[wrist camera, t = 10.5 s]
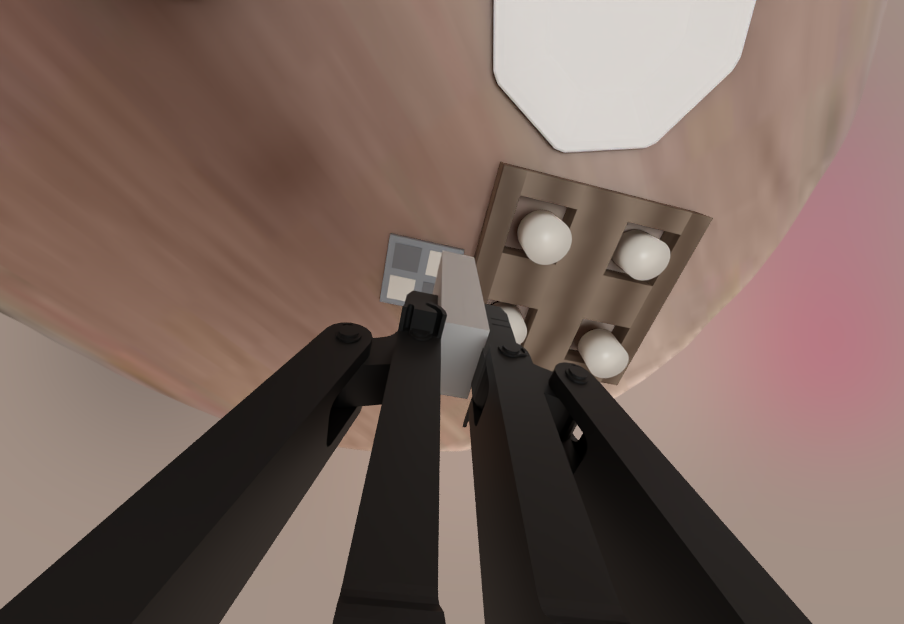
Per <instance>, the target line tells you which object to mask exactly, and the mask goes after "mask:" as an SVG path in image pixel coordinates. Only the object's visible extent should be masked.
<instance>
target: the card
mask: <svg viewBox="0 0 904 624" xmlns="http://www.w3.org/2000/svg"><path fill="white" fill-rule="evenodd" d="M442 250H443V251H448V252H452V253H457V254H462V255H463V254H464V249H460V248H455V247H451V246H446V245H442V244H437V243H433V242H428V241H424V240H419V239H415V238H410V237H406V236H401V235H397V234H392V233H391V234H390V238H389V245H388V251H387V257H386V264H385V270H384V277H383V283H382V290H381V296H380V302H385V303H390V304H395V305H400V306H403V305H404V304H405V300H406V295H407V294H409V293H410V292H411V291H413V290H414V291H419V292H424V293H429V294H433V290H434V285H435V281H436V277H437V272H438V268H439V264H440V259H441V255H442Z"/></svg>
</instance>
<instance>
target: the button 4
mask: <svg viewBox="0 0 904 624" xmlns="http://www.w3.org/2000/svg"><path fill="white" fill-rule="evenodd" d="M612 259H613V261H614V262H615V263H616V264H617V265H618V266H619V267H620V268H621V269H623V270H624V271H625V272H626V273H627V274H629V275H630V276H631V277H632V278H634V279H636V280H649V279H652V278H654V277H656V276H658V275H659V274H660V273H662V272H663V271H664V269H665V268H666V267H667V265H668V263H669V260H670V249H669V247H668V246H667V245H666V243H664V242H663V241H661V240H659V239H657V238H655V237H654V236H652V235H650V234H648V233H646V232H644V231H642V230H630V231H627V232H625V233H624V234H622V236H621V238H620V240H619V242H618V245H617V247H616V249H615V251H614V253H613V255H612Z"/></svg>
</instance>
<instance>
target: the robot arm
mask: <svg viewBox="0 0 904 624" xmlns="http://www.w3.org/2000/svg"><path fill="white" fill-rule="evenodd" d="M471 386H472V399H471V402H470V405H469V408H468V410H467V413H466V416H465V419H464V423H463V427H466V426H467V423H468V421H469V424H470V437H471V450H472V461H473V462H472V463H473V475H474V489H475V502H476V515H477V527H478V540H479V553H480V566H481V578H482V592H483V605H484V618H485V624H812V623H811V622H810V621H809V619H808V618H807V617H806V616H805V615H804V614H803V613H802V611H801V610H800V609H799V608H798V607H797V606H796V605H795V603H794V602H793V601H792V600H791V599H790V598H789V597H788V595H786V593H785V592H784V591H783V590H782V589H781V588H780V586H779V585H778V584H777V583H776V582H775V581H774V580H773V578H772V577H771V576H770V575H769V574H768V573H767V572H766V571H765V569H764V568H762V566H761V565H760V564H759V563H758V561H757V560H756V559H755V558H754V557H753V556H752V555H751V554H750V552H749V551H748V550H747V549H746V548H745V547H744V546H743V544H742V543H741V542H740V541H739V540H738V539H737V538H736V537H735V535H734V534H733V533H732V532H731V531H730V530H729V529H728V527H727V526H726V525H725V524H724V523H723V522H722V521H721V520H720V519H719V517H718V516H717V515H716V514H715V513H714V512H713V510H712V509H711V508H710V507H709V506H708V505H707V504H706V503H705V501H703V499H702V498H701V497H700V496H699V495H698V494H697V492H696V491H695V490H694V489H693V488H692V487H691V486H690V484H689V483H688V482H687V481H686V480H685V479H684V478H683V477H682V475H681V474H680V473H679V472H678V471H677V470H676V469H675V467H674V466H673V465H672V464H671V463H670V462H669V461H668V460H667V458H666V457H665V456H664V455H663V454H662V453H661V451H660V450H659V449H658V448H657V447H656V446H655V445H654V444H653V442H652V441H651V440H650V439H649V438H648V437H647V436H646V435H645V434H644V432H643V431H642V430H641V429H640V428H639V427H638V425H637V424H636V423H635V422H634V421H633V420H632V419H631V417H630V416H629V415H628V414H627V413H626V412H625V411H624V410H623V408H622V407H621V406H620V405H619V404H618V403H617V402H616V400H615V399H614V398H613V397H612V396H611V395H610V394H609V393H608V391H607V390H606V389H605V388H604V387H603V386H602V385H601V383H600V382H599V381H598V380H597V379H596V378H595V377H594V376H593V375H592V374H591V373H590V372H589V371H587V370H586V369H584V368H583V367H581V366H579V365H576V364H573V363H567V362H563V363H558V364H557V365H556V366H555V368H554V370H553V371H550V370H547V369H545V368H542V367H540V366H537V365H535V364H533V362H532V359H531V356H530V354H529V353H528V351H527V350H526V349H525V348H524V347H523V346H521V345H520V344H518V343H516V340H515V337H514V334H513V331H512V328H511V325H510V323H509V318H508V315H507V314H506V313H505V312H504V310H503V309H502V308H501V307H497V306H492V305H488V304H484V301H483V296H482V292H481V287H480V282H479V278H478V273H477V268H476V264H475V259H474V257H471V256H466V255H462V254H457V253H452V252H448V251H443V250H442V255H441V259H440V264H439V268H438V272H437V277H436V281H435V285H434V290H433V294H429V293H424V292H419V291H414V290H413V291H411V292H410V293H409V294H407V295H406V300H405V304H404V305H403V308H402V313H401V318H400V323H399V329H398V331H397V332H396V333H395V334H393V335H391V336H387V337H381V338H373V337H372V334H371V332H370V331H369V330H368V329H367V328H365V327H363V326H361V325H358V324H354V323H338V324H333V325H331V326H329V327H328V328H326V329H325V330H324V331H323V332H321V333H320V334H319V335H318V336H317V337H316V338H314V339H313V340H312V341H311V342H310V343H309V344H308V345H306V346H305V347H304V348H303V349H302V350H301V351H299V352H298V353H297V354H296V355H295V356H294V357H292V358H291V359H290V360H289V361H288V362H287V363H286V364H284V365H283V366H282V367H281V368H280V369H279V370H277V371H276V372H275V373H274V374H273V375H272V376H270V377H269V378H268V379H267V380H266V381H265V382H263V383H262V384H261V385H260V386H259V387H258V388H257V389H255V390H254V391H253V392H252V393H251V394H250V395H248V396H247V397H246V398H245V399H244V400H243V401H241V402H240V403H239V404H238V405H237V406H236V407H235V408H233V409H232V410H231V411H230V412H229V413H228V414H226V415H225V416H224V417H223V418H222V419H221V420H219V421H218V422H217V423H216V424H215V425H214V426H212V427H211V428H210V429H209V430H208V431H207V432H206V433H205V434H203V435H202V436H201V437H200V438H199V439H197V440H196V441H195V442H194V443H193V444H192V445H190V446H189V447H188V448H187V449H186V450H185V451H184V452H183V453H181V454H180V455H179V456H178V457H177V458H175V459H174V460H173V461H172V462H171V463H170V464H168V466H166V467H165V468H164V469H163V470H162V471H160V472H159V473H158V474H157V475H156V476H155V477H153V478H152V479H151V480H150V481H149V482H148V483H146V484H145V485H144V486H143V487H142V488H141V489H140V490H138V491H137V492H136V493H135V494H134V495H133V496H131V497H130V498H129V499H128V500H127V501H126V502H124V503H123V504H122V505H121V506H120V507H119V508H117V509H116V510H115V511H114V512H113V513H112V514H111V515H109V516H108V517H107V518H106V519H105V520H104V521H103V522H101V523H100V524H99V525H98V526H97V527H96V528H94V529H93V530H92V531H91V532H90V533H89V534H87V535H86V536H85V537H84V538H83V539H82V540H81V541H79V542H78V543H77V544H76V545H75V546H74V547H72V548H71V549H70V550H69V551H68V552H67V553H65V554H64V555H63V556H62V557H61V558H60V559H58V560H57V561H56V562H55V563H54V564H53V565H51V566H50V567H49V568H48V569H47V570H46V571H45V572H43V573H42V574H41V575H40V576H39V577H37V578H36V579H35V580H34V581H33V582H32V583H31V584H29V585H28V586H27V587H26V588H25V589H24V590H22V591H21V592H20V593H19V594H18V595H17V596H16V597H14V598H13V599H12V600H11V601H10V602H9V603H7V604H6V605H5V606H4V607H3V608H2V609H0V624H219V623H220V622H221V620H222V619H223V617H224V616H225V614H226V613H227V611H228V610H229V608H230V607H231V605H232V604H233V602H234V600H235V599H236V598H237V596H238V595H239V593H240V592H241V590H242V589H243V587H244V586H245V584H246V583H247V581H248V579H249V578H250V577H251V575H252V574H253V572H254V571H255V569H256V567H257V566H258V564H259V563H260V562H261V560H262V559H263V557H264V556H265V554H266V553H267V551H268V550H269V548H270V547H271V545H272V544H273V542H274V541H275V539H276V537H277V536H278V535H279V533H280V532H281V530H282V529H283V527H284V526H285V524H286V523H287V521H288V519H289V518H290V517H291V515H292V514H293V512H294V511H295V509H296V508H297V506H298V505H299V503H300V502H301V500H302V499H303V497H304V495H305V494H306V493H307V491H308V490H309V488H310V487H311V485H312V484H313V482H314V480H315V479H316V478H317V476H318V475H319V473H320V472H321V470H322V468H323V467H324V466H325V464H326V462H327V461H328V459H329V458H330V456H331V455H332V453H333V452H334V451H335V449H336V448H337V446H338V445H339V443H340V442H341V440H342V439H343V437H344V436H345V434H346V433H347V431H348V430H349V428H350V427H351V425H352V424H353V422H354V421H355V419H356V418H357V416H358V415H359V413H360V411H361V408H362V406H369V405H380V404H382V406H381V411H380V415H379V420H378V424H377V429H376V434H375V438H374V443H373V447H372V452H371V456H370V461H369V465H368V470H367V474H366V479H365V484H364V488H363V493H362V497H361V502H360V506H359V511H358V515H357V520H356V524H355V529H354V534H353V539H352V543H351V548H350V552H349V556H348V561H347V565H346V570H345V575H344V579H343V584H342V588H341V592H340V596H339V599H338V603H337V607H336V612H335V615H334V620H333V624H446V623H445V617H444V612H443V610H442V608H441V607H440V605H439V600H438V535H439V532H438V531H439V461H440V394H441V395H447V396H453V397H459V398H465V399H467V398H468V395H469V392H470V389H471ZM577 425H578V426H579V428H580V429H581V431H582V432H583V434H582V436H581V438H580V439H579V440H577V439H576V438H575V436H574V435H573V431H574V429H575V427H576V426H577Z"/></svg>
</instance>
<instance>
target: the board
mask: <svg viewBox="0 0 904 624" xmlns="http://www.w3.org/2000/svg"><path fill="white" fill-rule="evenodd" d="M520 195H521V196H525V197H529V198H533V199H537V200H541V201H545V202H549V203H553V204H557V205H561V206H565V207H567V210H566V213H565V215H564V218H563V222H564V223H565V224H566V225H567V226H568V227H569V229H570V231H571V235H572V243H571V246H570V249H569V251H568V252H567V254H566V255H565V256H564V257H563V258H562V259H561V260H559V261H558V262H556V263H553V264H549V265H541V264H537V263H535V262H533V261H532V260H531V259H530V258H529V257H528V256H527V254H526V253H525V251H524V250H519V249H515V248H511V247H506V246H505V243H506V239H507V236H508V233H509V230H510V227H511V223H512V220H513V217H514V214H515V211H516V207H517V204H518V201H519V198H520ZM712 219H713V218H711V217H709V216H706V215H703V214H700V213H697V212H694V211H690V210H686V209H682V208H678V207H675V206H671V205H667V204H663V203H659V202H655V201H651V200H647V199H643V198H639V197H636V196H632V195H628V194H624V193H620V192H616V191H612V190H608V189H604V188H600V187H596V186H593V185H589V184H585V183H581V182H577V181H573V180H569V179H565V178H561V177H557V176H553V175H550V174H546V173H542V172H538V171H534V170H530V169H526V168H522V167H518V166H514V165H511V164H507V163H503V162H501V163H500V166H499V170H498V173H497V177H496V181H495V184H494V188H493V192H492V195H491V199H490V202H489V206H488V210H487V213H486V217H485V221H484V224H483V228H482V231H481V235H480V239H479V242H478V246H477V250H476V253H475V257H474V259H475V264H476V268H477V273H478V278H479V282H480V287H481V292H482V296H483V301H484V304H486V303H487V300H488V299H491V300H496V301H500V302H505V303H510V304H515V305H520V306H525V307H530V308H529V311H528V313H527V316H526V318H525V321H524V322H525V325H526V328H527V335H526V338H525V340H524V341H523V342H522V343H521V344H520V345H521V346H523V347H524V348H525V349H526V350H527V351H528V353H529V354H530V356H531V359H532V362H533V364H535V365H537V366H540V367H542V368H545V369H547V370H550V371H553V370H554V368H555V366H556V365H557V364H558V363H563V362H567V363H573V364H576V365H579V366H581V367H583V368H584V369H586V370H587V371H589V372H590V370H589V368H588V367H587V365H586V363H585V362H584V360H583V358H582V356H581V355H580V353H579V351H575V350H569V348H570V346H571V343H572V341H573V339H574V337H575V335H576V333H577V331H578V328H579V326H580V324H581V322H582V320H583V319H588V320H593V321H598V322H602V323H607V324H612V325H615V327H614V329H613V331H612V334H613V335H614V337H615V338H616V339H617V340H618V342H619V343H620V344H621V345H622V347H623V348H624V349H625V351H626V352H627V353H628V357H629V361H628V364H627V366H626V368H625V369H624V370H623V371H622V372H621V373H619V374H618V375H616V376H613V377H610V378H599V377H596V376H594V375H593V374H592V373H591V372H590V373H591V374H592V375H593V376H594V377H595V378H596V379H597V380H598V381H599V382H602V383H608V384H613V385H618V383H619V381H620V379H621V378H622V376H623V374H624V372H625V371H626V369H627V367H628V365H629V364H630V362H631V360H632V358H633V357H634V355H635V353H636V351H637V350H638V348H639V346H640V344H641V343H642V341H643V339H644V337H645V336H646V334H647V332H648V330H649V329H650V327H651V325H652V323H653V322H654V320H655V318H656V317H657V315H658V313H659V311H660V310H661V308H662V306H663V304H664V303H665V301H666V299H667V297H668V296H669V294H670V292H671V290H672V289H673V287H674V285H675V283H676V282H677V280H678V278H679V276H680V275H681V273H682V271H683V269H684V268H685V266H686V264H687V262H688V261H689V259H690V257H691V255H692V254H693V252H694V250H695V249H696V247H697V245H698V243H699V242H700V240H701V238H702V236H703V235H704V233H705V231H706V229H707V228H708V226H709V224H710V222H711V221H712ZM628 222H630V223H635V224H639V225H643V226H647V227H651V228H655V229H659V230H663V231H664V233H663V235H662V237H661V239H660V240H661V241H663V242H664V243H666V245H667V246H668V247H669V249H670V260H669V263H668V265H667V267H666V268H665V269H664V271H663V272H662V273H660V274H659V275H658V276H656V277H654V278H652V279H649V280H636V279H634V278H632V277H631V276H630V275H629V274H625V273H621V272H617V271H612V270H608V269H606V268H607V266H608V264H609V262H610V260H611V257H612V255H613V253H614V251H615V249H616V247H617V245H618V242H619V240H620V238H621V236H622V234H623V232H624V229H625V227H626V225H627V223H628Z"/></svg>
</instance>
